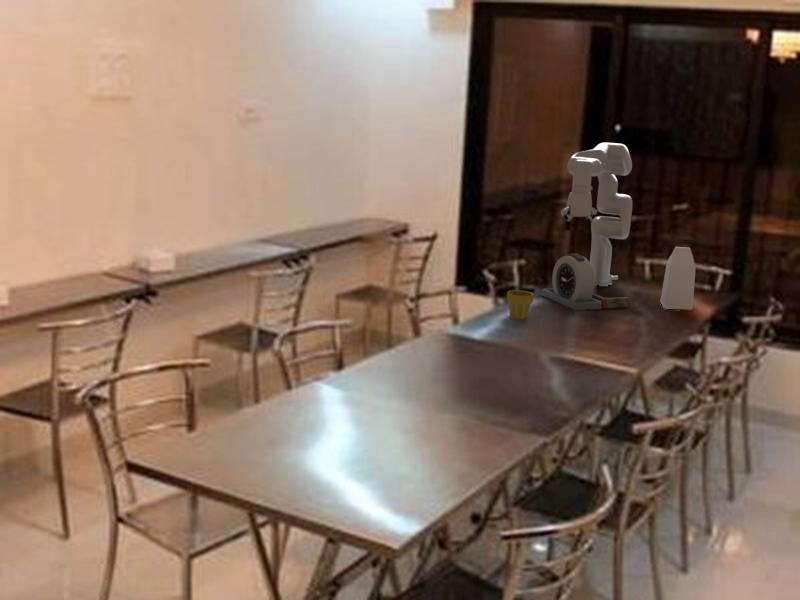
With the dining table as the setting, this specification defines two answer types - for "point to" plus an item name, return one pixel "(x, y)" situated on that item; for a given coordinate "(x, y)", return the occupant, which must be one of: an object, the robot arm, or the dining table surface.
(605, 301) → the walnut stall
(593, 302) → the slate tray
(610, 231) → the robot arm
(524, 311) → the plant pot
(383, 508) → the dining table surface
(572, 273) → the alarm clock
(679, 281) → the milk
